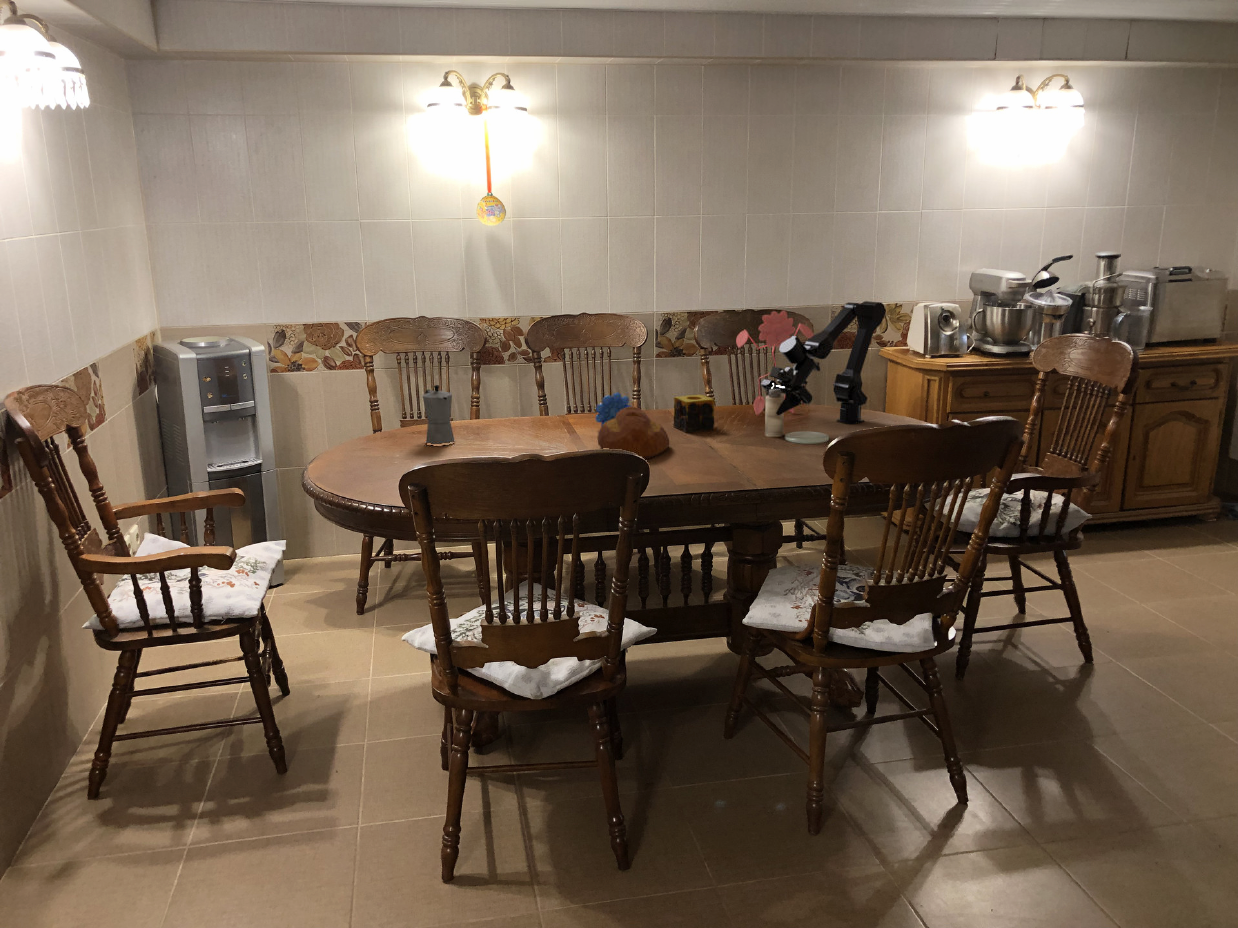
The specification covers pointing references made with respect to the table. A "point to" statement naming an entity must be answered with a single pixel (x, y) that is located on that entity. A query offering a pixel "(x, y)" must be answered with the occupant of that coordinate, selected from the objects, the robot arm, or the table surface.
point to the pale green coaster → (806, 437)
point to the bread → (633, 433)
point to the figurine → (773, 341)
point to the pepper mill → (773, 414)
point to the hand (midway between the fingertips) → (770, 412)
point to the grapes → (611, 407)
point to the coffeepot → (438, 416)
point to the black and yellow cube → (693, 413)
